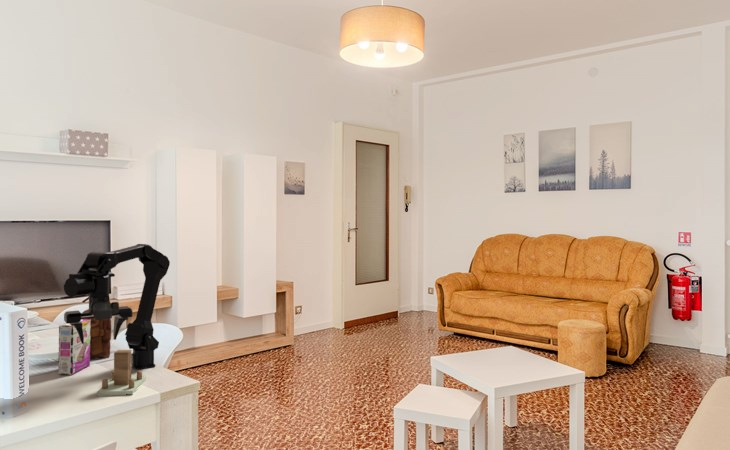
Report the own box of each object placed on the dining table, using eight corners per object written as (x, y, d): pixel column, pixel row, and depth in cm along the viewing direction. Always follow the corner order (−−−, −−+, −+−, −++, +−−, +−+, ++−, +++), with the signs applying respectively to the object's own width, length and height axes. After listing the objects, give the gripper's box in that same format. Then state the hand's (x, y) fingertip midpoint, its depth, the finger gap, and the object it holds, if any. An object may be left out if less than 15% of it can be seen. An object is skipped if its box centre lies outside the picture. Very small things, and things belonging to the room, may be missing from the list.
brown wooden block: (117, 381, 165) (117, 349, 165) (131, 381, 166) (131, 349, 165) (114, 385, 162) (114, 353, 161) (127, 385, 162) (127, 352, 162)
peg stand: (113, 380, 170) (113, 368, 170) (146, 379, 171) (146, 368, 171) (96, 395, 156) (97, 383, 156) (132, 394, 157) (132, 382, 157)
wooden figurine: (73, 361, 190) (73, 311, 190) (77, 356, 196) (77, 307, 196) (110, 358, 194) (110, 309, 193) (112, 354, 200) (112, 306, 199)
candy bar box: (72, 375, 174) (72, 325, 174) (57, 375, 174) (57, 325, 174) (91, 365, 185) (91, 318, 185) (77, 365, 186) (77, 318, 185)
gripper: (69, 298, 155) (69, 351, 155) (137, 293, 166) (136, 342, 167) (63, 293, 164) (63, 343, 164) (128, 288, 175) (128, 335, 176)
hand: (98, 341), depth 167 cm, fingers open, 9 cm apart
